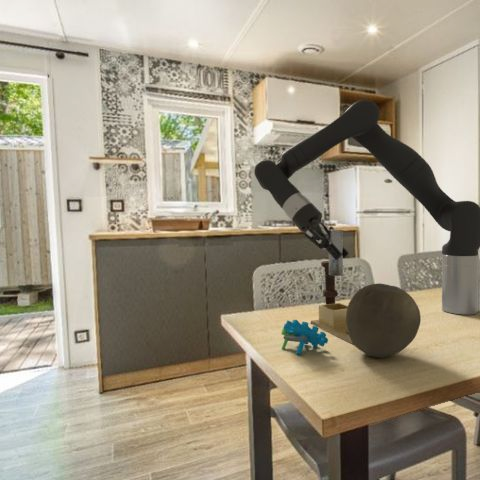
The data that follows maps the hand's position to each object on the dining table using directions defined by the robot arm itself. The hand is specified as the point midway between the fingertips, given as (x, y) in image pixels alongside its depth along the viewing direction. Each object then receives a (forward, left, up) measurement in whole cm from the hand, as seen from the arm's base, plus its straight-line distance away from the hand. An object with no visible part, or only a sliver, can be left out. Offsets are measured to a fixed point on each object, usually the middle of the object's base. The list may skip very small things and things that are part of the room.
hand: (342, 256), depth 92 cm
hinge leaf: (0, +2, -19) cm, 19 cm away
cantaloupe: (+4, +19, -19) cm, 27 cm away
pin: (+1, -2, -5) cm, 5 cm away
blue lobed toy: (+18, +10, -19) cm, 28 cm away
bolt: (-10, -21, -19) cm, 30 cm away
